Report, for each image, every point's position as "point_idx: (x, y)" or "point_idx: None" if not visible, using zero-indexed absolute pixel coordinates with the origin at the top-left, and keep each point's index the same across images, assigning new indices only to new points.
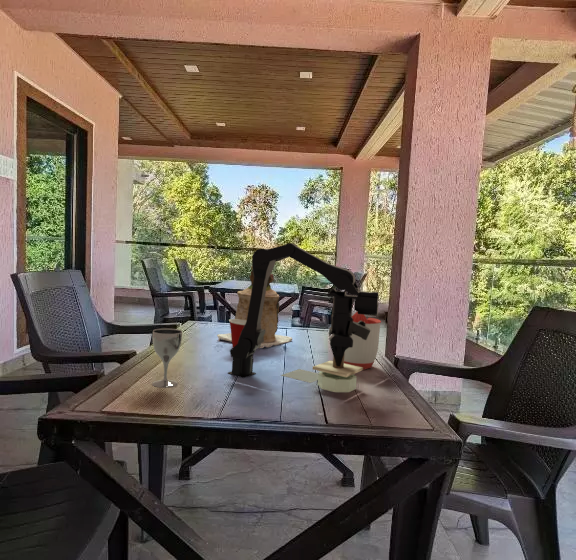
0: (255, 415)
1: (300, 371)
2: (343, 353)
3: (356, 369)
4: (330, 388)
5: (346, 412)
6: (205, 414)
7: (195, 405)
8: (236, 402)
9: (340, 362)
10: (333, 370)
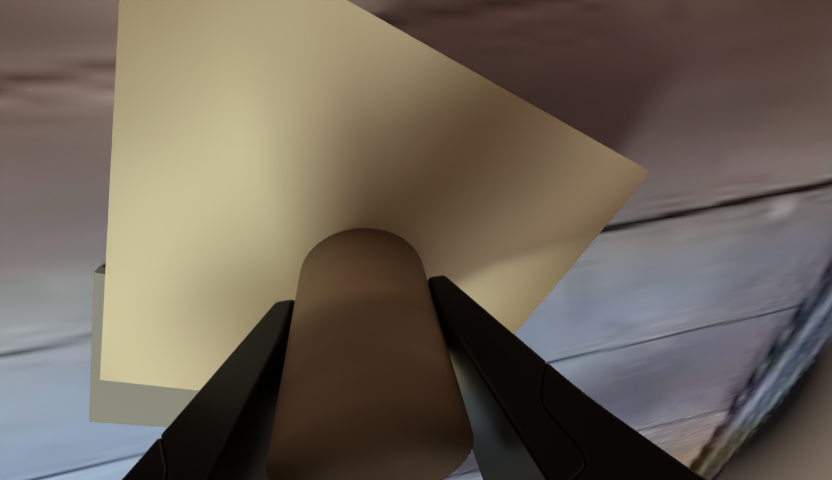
0: (735, 363)
1: (144, 405)
2: (601, 415)
3: (374, 43)
4: None
5: (811, 86)
6: (703, 428)
7: None
8: (627, 419)
9: (474, 307)
10: (518, 294)
